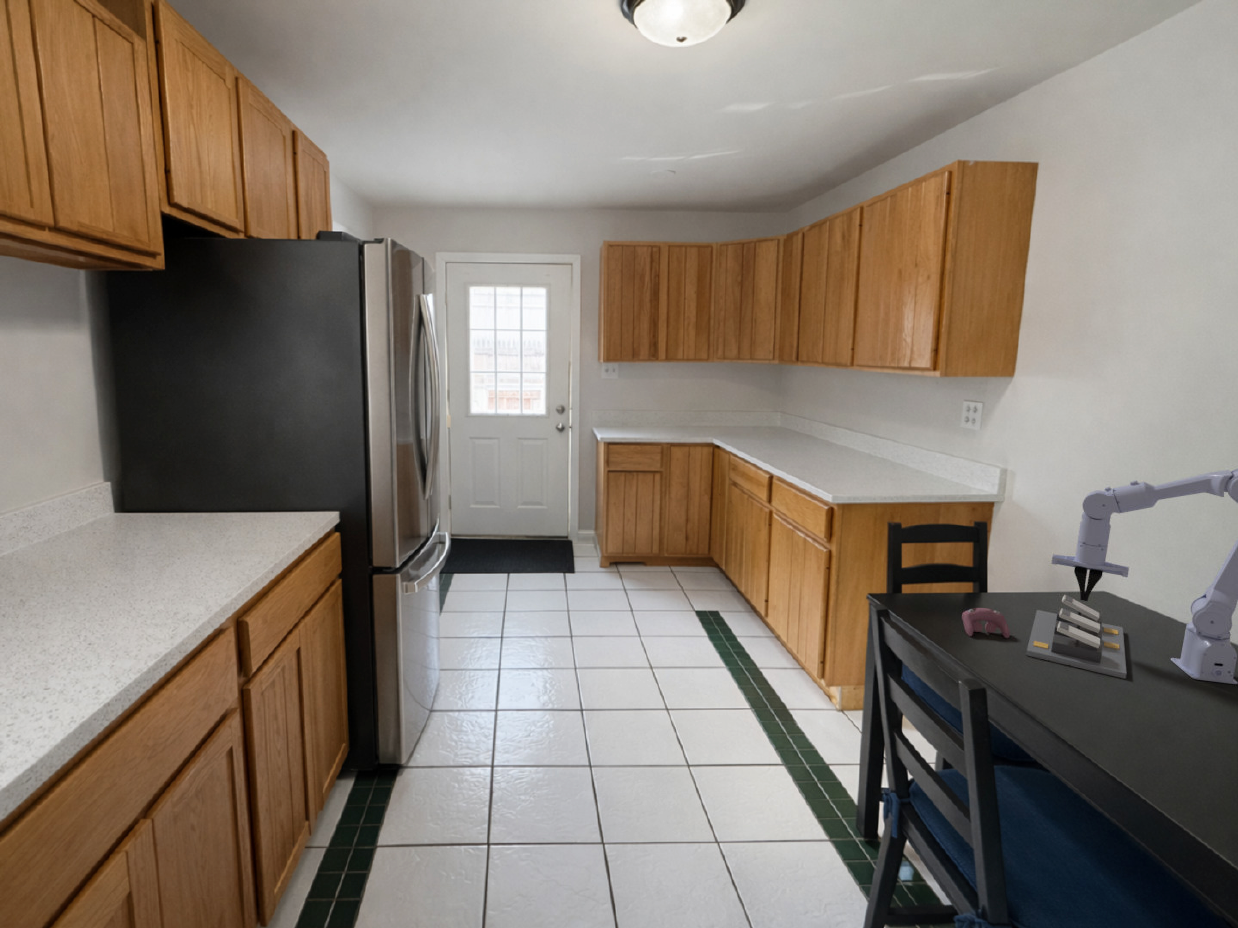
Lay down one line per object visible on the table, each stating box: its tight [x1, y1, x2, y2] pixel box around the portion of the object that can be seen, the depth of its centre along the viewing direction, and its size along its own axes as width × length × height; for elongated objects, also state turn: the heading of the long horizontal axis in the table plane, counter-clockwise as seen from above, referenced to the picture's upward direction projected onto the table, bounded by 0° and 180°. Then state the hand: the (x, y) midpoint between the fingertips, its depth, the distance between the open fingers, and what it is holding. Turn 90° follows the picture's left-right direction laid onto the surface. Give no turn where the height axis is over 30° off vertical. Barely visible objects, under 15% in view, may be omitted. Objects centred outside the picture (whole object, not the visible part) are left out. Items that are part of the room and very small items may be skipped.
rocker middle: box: [1059, 608, 1100, 633], centre depth 159 cm, size 8×4×1 cm, turn 56°
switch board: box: [1025, 607, 1127, 680], centre depth 159 cm, size 18×30×5 cm, turn 145°
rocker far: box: [1061, 594, 1100, 621], centre depth 167 cm, size 8×4×1 cm, turn 56°
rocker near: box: [1057, 622, 1100, 648], centre depth 151 cm, size 8×4×1 cm, turn 56°
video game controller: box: [961, 607, 1011, 639], centre depth 164 cm, size 10×5×7 cm, turn 85°
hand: (1084, 599), depth 159 cm, fingers closed
